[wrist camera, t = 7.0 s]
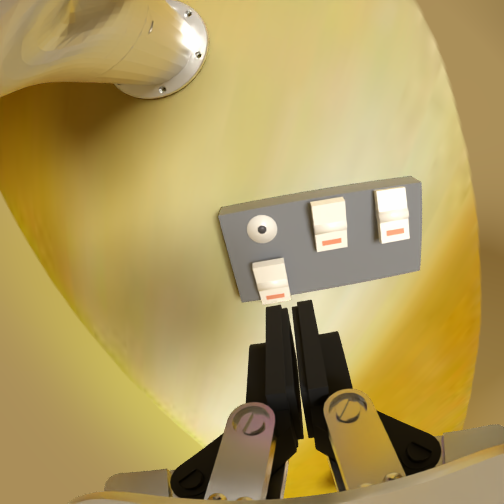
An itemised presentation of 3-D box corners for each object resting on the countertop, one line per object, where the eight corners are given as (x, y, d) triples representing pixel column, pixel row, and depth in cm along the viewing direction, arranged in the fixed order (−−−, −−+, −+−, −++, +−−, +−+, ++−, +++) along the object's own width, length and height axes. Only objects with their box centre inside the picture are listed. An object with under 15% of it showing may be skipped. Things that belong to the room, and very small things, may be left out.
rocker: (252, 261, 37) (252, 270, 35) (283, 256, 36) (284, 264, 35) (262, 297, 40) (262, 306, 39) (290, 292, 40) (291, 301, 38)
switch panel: (221, 207, 38) (217, 216, 35) (410, 176, 35) (422, 182, 32) (243, 289, 43) (241, 303, 40) (411, 259, 40) (420, 271, 37)
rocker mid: (309, 200, 33) (312, 207, 32) (342, 195, 32) (345, 202, 31) (315, 245, 36) (317, 253, 35) (344, 240, 36) (348, 248, 35)
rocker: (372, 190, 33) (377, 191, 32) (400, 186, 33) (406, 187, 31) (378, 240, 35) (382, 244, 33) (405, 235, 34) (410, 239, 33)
